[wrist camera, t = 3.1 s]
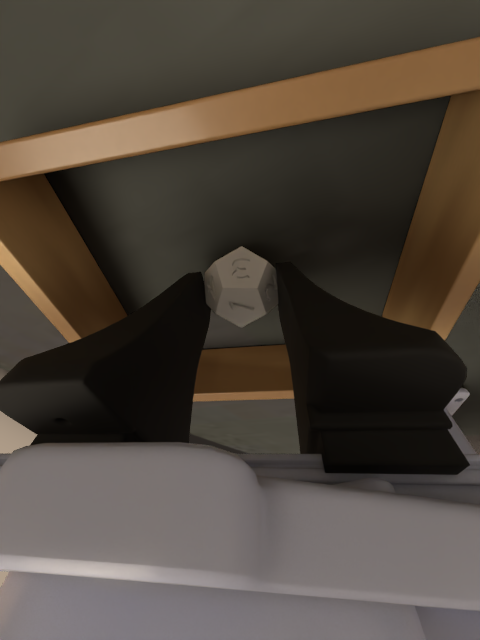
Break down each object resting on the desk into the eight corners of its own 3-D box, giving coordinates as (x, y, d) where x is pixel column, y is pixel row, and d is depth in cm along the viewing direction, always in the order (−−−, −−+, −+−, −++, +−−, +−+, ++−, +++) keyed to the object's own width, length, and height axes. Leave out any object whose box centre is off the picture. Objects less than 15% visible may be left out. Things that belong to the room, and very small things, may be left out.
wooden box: (384, 346, 15) (413, 395, 12) (144, 360, 17) (122, 404, 14) (492, 50, 7) (649, -2, 4) (12, 152, 9) (-92, 161, 6)
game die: (265, 307, 13) (267, 345, 11) (202, 290, 13) (190, 326, 10) (291, 251, 11) (300, 284, 9) (215, 227, 10) (204, 255, 8)
